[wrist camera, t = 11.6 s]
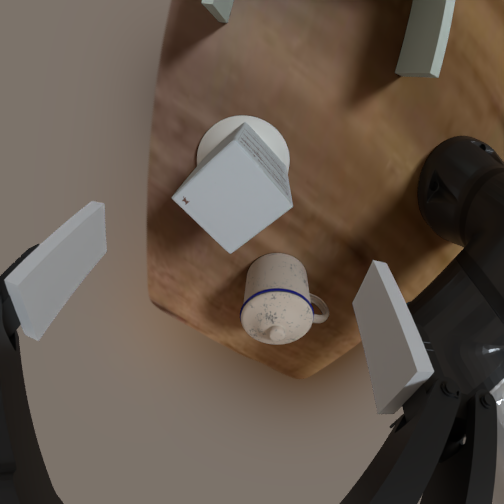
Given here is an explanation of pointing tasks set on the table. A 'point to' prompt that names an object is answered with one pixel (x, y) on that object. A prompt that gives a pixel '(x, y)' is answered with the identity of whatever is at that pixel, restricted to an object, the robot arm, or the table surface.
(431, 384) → the robot arm
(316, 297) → the teacup with lid
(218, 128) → the coaster
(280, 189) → the supplement box
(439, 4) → the three-sided green enclosure
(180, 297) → the table surface
